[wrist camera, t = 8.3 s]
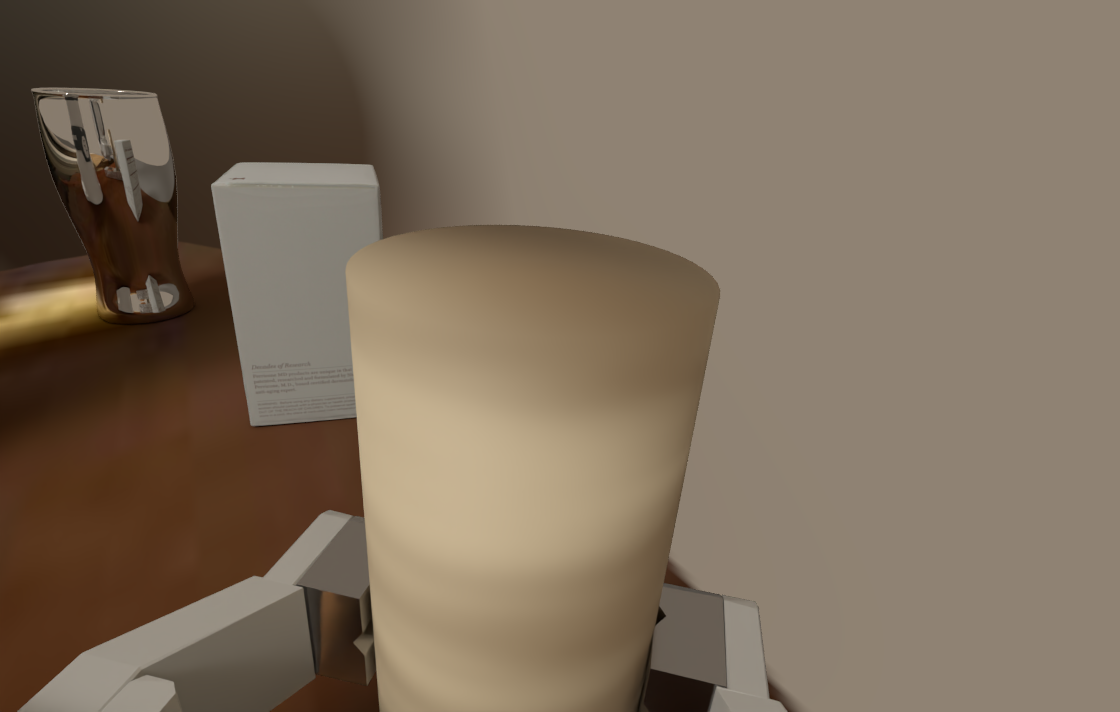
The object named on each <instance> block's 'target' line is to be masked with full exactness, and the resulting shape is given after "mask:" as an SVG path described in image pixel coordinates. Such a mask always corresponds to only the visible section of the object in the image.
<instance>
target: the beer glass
mask: <svg viewBox="0 0 1120 712" xmlns="http://www.w3.org/2000/svg"><path fill="white" fill-rule="evenodd" d="M31 91H32V93H33V97H34V102H35V108H36V114H37V120H38V125H39V130H40V135H41V140H42V144H43V148H44V153H45V156H46V160H47V164H48V167H49V170H50V173H51V176H52V179H53V182H54V184H55V187H56V189H57V191H58V194H59V196H60V198H61V201H62V203H63V205H64V207H65V209H66V211H67V213H68V215H69V217H70V219H71V221H72V223H73V225H74V227H75V229H76V231H77V233H78V235H79V237H80V239H81V241H82V243H83V245H84V247H85V250H86V252H87V254H88V256H89V260H90V262H91V265H92V268H93V273H94V277H95V285H96V307H97V314H98V316H99V317H100V318H101V319H102V320H104V321H107V322H111V323H117V324H142V323H151V322H158V321H163V320H167V319H171V318H175V317H178V316H180V315H183V314H185V313H187V312H189V311H190V310H191V309H192V308H193V307H194V303H195V302H194V298H193V296H192V293H191V291H190V289H189V286H188V284H187V282H186V279H185V277H184V274H183V271H182V268H181V264H180V260H179V252H178V238H177V237H178V233H177V232H178V230H177V229H178V227H177V226H178V213H177V212H178V210H177V209H178V208H177V207H178V203H177V182H176V173H175V167H174V161H173V155H172V151H171V147H170V143H169V138H168V135H167V131H166V127H165V124H164V120H163V117H162V114H161V110H160V107H159V103H158V99H157V94H154V93H149V92H138V91H126V90H109V89H86V88H83V89H82V88H34V89H32V90H31Z"/></svg>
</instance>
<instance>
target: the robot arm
mask: <svg viewBox="0 0 1120 712" xmlns="http://www.w3.org/2000/svg"><path fill="white" fill-rule="evenodd" d="M375 671H376V657H375V645H374V632H373V619H372V606H371V593H370V580H369V568H368V555H367V542H366V529H365V518H363V517H359V516H352V515H348V514H344V513H340V512H336V511H332V510H328V511H326V512H324V513H322V514H320V515H319V516H318V517H317V519H316V520H315V521H314V522H313V523H312V524H311V525H310V526H309V527H308V528H307V530H306V531H305V532H304V533H303V534H302V535H301V536H300V537H299V538H298V540H297V541H296V542H295V543H294V544H293V545H292V546H291V547H290V548H289V549H288V551H287V552H286V553H285V554H284V555H283V556H282V557H281V558H280V559H279V561H278V562H277V563H276V564H275V565H274V566H273V567H272V568H271V569H270V570H269V572H268V573H267V574H266V575H265V576H264V577H263V578H262V577H257V576H253V577H251V578H249V579H247V580H244V581H242V582H240V583H238V584H235V585H233V586H231V587H229V588H226V589H224V590H222V591H220V592H217V593H215V594H213V595H211V596H209V597H206V598H204V599H202V600H200V601H197V602H195V603H193V604H191V605H188V606H186V607H184V608H182V609H179V610H177V611H175V612H173V613H170V614H168V615H166V616H164V617H162V618H159V619H157V620H155V621H153V622H150V623H148V624H146V625H144V626H141V627H139V628H137V629H135V630H132V631H130V632H128V633H126V634H124V635H121V636H119V637H117V638H115V639H112V640H110V641H108V642H106V643H103V644H101V645H99V646H97V647H94V648H92V649H90V650H88V651H85V652H83V653H82V654H80V655H79V656H78V657H77V658H76V659H75V660H74V661H73V662H72V663H70V664H69V665H68V666H67V667H66V668H65V669H64V670H63V671H62V672H61V673H59V674H58V675H57V676H56V677H55V678H54V679H53V680H52V681H51V682H49V683H48V684H47V685H46V686H45V687H44V688H43V689H42V690H41V691H39V692H38V693H37V694H36V695H35V696H34V697H33V698H32V699H31V700H30V701H28V702H27V703H26V704H25V705H24V706H23V707H22V708H21V709H20V710H18V711H17V712H269V711H271V710H272V709H273V708H275V707H276V706H277V705H279V704H280V703H282V702H283V701H284V700H286V699H287V698H288V697H290V696H291V695H293V694H294V693H295V692H297V691H298V690H299V689H301V688H302V687H304V686H305V685H306V684H308V683H309V682H311V681H312V680H313V679H315V677H316V676H315V674H316V675H321V676H325V677H329V678H334V679H338V680H342V681H347V682H351V683H355V684H360V685H364V686H367V685H368V684H369V682H370V680H371V678H372V677H373V675H374V673H375ZM638 712H788V711H787V710H786V709H785V707H784V706H783V705H782V703H781V702H779V701H775V700H772V699H769V690H768V682H767V674H766V665H765V657H764V649H763V640H762V632H761V624H760V615H759V607H758V606H757V604H756V602H755V601H750V600H745V599H740V598H735V597H730V596H725V595H722V596H721V595H719V594H714V593H710V592H705V591H700V590H695V589H690V588H685V587H680V586H676V585H671V584H666V583H663V588H662V593H661V598H660V604H659V609H658V614H657V619H656V624H655V628H654V631H653V636H652V641H651V646H650V651H649V656H648V661H647V666H646V675H645V680H644V683H643V687H642V691H641V696H640V701H639V707H638Z"/></svg>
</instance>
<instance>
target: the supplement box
mask: <svg viewBox="0 0 1120 712" xmlns="http://www.w3.org/2000/svg"><path fill="white" fill-rule="evenodd" d="M211 188H212V194H213V199H214V206H215V212H216V219H217V225H218V230H219V237H220V243H221V249H222V254H223V260H224V266H225V273H226V279H227V284H228V290H229V296H230V302H231V308H232V314H233V320H234V326H235V332H236V338H237V344H238V350H239V356H240V361H241V368H242V374H243V380H244V387H245V392H246V398H247V404H248V410H249V416H250V424H251V425H252V426H265V425H276V424H288V423H298V422H311V421H320V420H333V419H343V418H353V417H357V414H356V401H355V388H354V375H353V362H352V350H351V337H350V324H349V311H348V298H347V286H346V273H345V271H346V265H347V262H348V261H349V259H350V258H351V257H352V256H353V255H354V254H355V253H356V252H357V251H359V250H360V249H362V248H364V247H366V246H367V245H369V244H372V243H374V242H377V241H379V240H382V239H383V234H382V214H381V198H380V188H379V182H378V179H377V176H376V173H375V170H374V168H373V165H360V164H324V163H238V164H235V165H234V166H233V167H232V168H231V169H230V170H229V171H227V172H226V173H224V174H223V176H222V177H221V178H219V179H218V180H217V181H216V182H215V183H213V184H212V185H211Z"/></svg>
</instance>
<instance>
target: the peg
mask: <svg viewBox="0 0 1120 712" xmlns="http://www.w3.org/2000/svg"><path fill="white" fill-rule="evenodd" d="M345 273H346V286H347V298H348V311H349V324H350V337H351V350H352V362H353V375H354V388H355V401H356V414H357V427H358V439H359V452H360V465H361V478H362V491H363V504H364V516H365V529H366V542H367V555H368V568H369V580H370V593H371V606H372V619H373V632H374V645H375V657H376V670H377V683H378V696H379V709H380V712H638V707H639V701H640V696H641V691H642V687H643V683H644V680H645V675H646V666H647V661H648V656H649V651H650V646H651V641H652V636H653V631H654V628H655V624H656V619H657V614H658V609H659V604H660V598H661V593H662V588H663V583H664V578H665V573H666V568H667V563H668V558H669V553H670V548H671V543H672V537H673V532H674V527H675V522H676V517H677V512H678V507H679V501H680V497H681V491H682V487H683V482H684V476H685V471H686V466H687V461H688V456H689V450H690V446H691V441H692V435H693V431H694V426H695V420H696V415H697V410H698V405H699V400H700V395H701V390H702V385H703V379H704V374H705V370H706V364H707V360H708V354H709V349H710V344H711V339H712V334H713V328H714V324H715V319H716V314H717V309H718V303H719V299H720V289H719V286H718V283H717V282H716V281H715V280H714V278H713V277H712V276H711V275H710V274H709V273H708V272H707V271H705V270H704V269H703V268H701V267H699V266H698V265H696V264H695V263H693V262H691V261H689V260H687V259H685V258H683V257H681V256H678V255H676V254H673V253H670V252H668V251H665V250H663V249H659V248H656V247H654V246H650V245H647V244H643V243H640V242H636V241H631V240H628V239H623V238H619V237H614V236H609V235H604V234H598V233H592V232H585V231H578V230H571V229H561V228H551V227H539V226H520V225H470V226H455V227H442V228H434V229H426V230H420V231H414V232H408V233H404V234H400V235H396V236H392V237H389V238H386V239H382V240H379V241H377V242H374V243H372V244H369V245H367V246H366V247H364V248H362V249H360V250H359V251H357V252H356V253H355V254H354V255H353V256H352V257H351V258H350V259H349V261H348V262H347V265H346V271H345Z"/></svg>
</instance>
